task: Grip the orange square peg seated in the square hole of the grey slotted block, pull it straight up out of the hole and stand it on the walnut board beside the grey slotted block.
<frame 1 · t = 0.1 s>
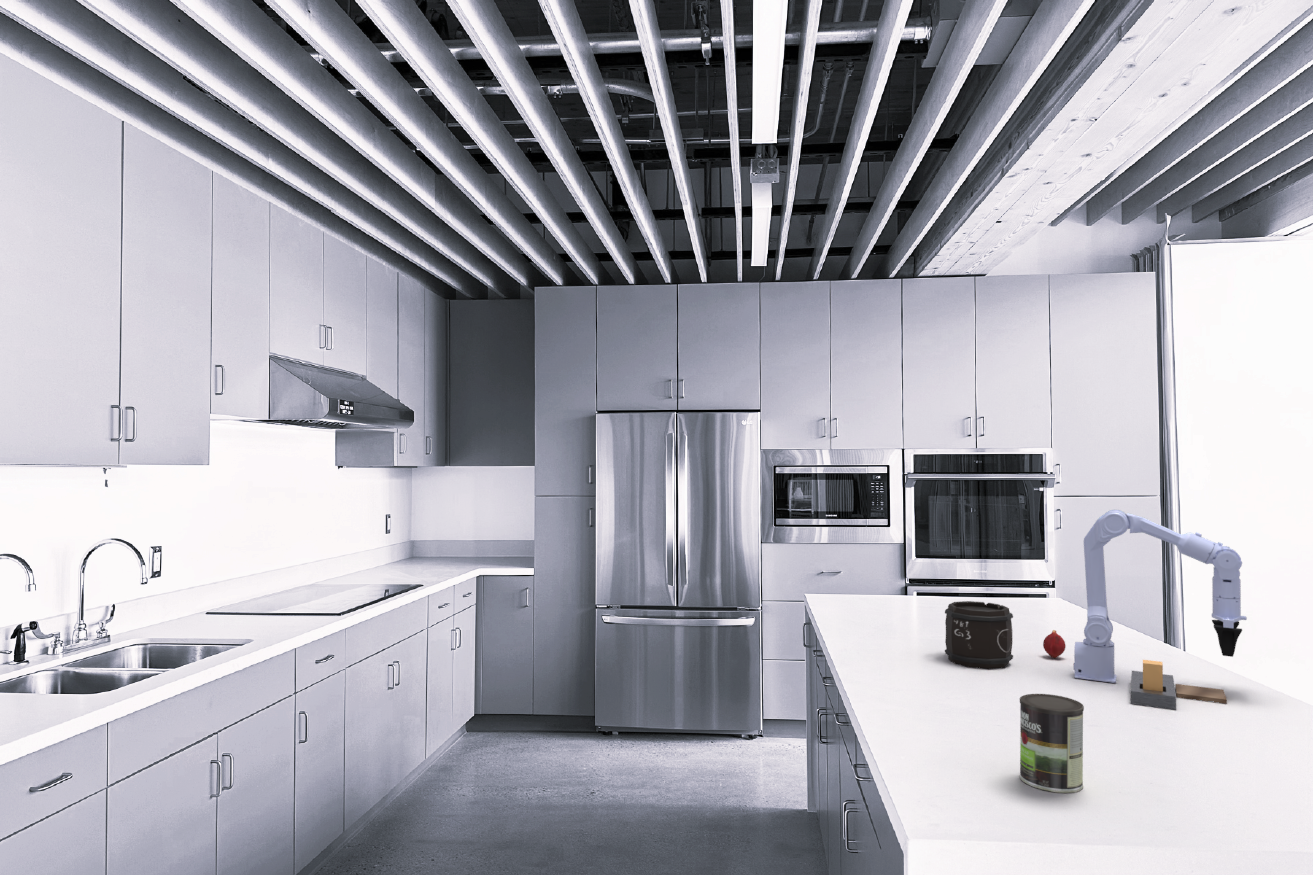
hand: (1226, 652, 204), 10 cm above the counter, tool pointing down, fingers open, 7 cm apart
grey slotted block: (1152, 695, 203), on the counter
peg: (1152, 700, 199), resting in grey slotted block
onion: (1054, 658, 240), on the counter
coffee can: (1051, 782, 148), on the counter
board: (1200, 695, 203), on the counter
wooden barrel: (978, 662, 235), on the counter
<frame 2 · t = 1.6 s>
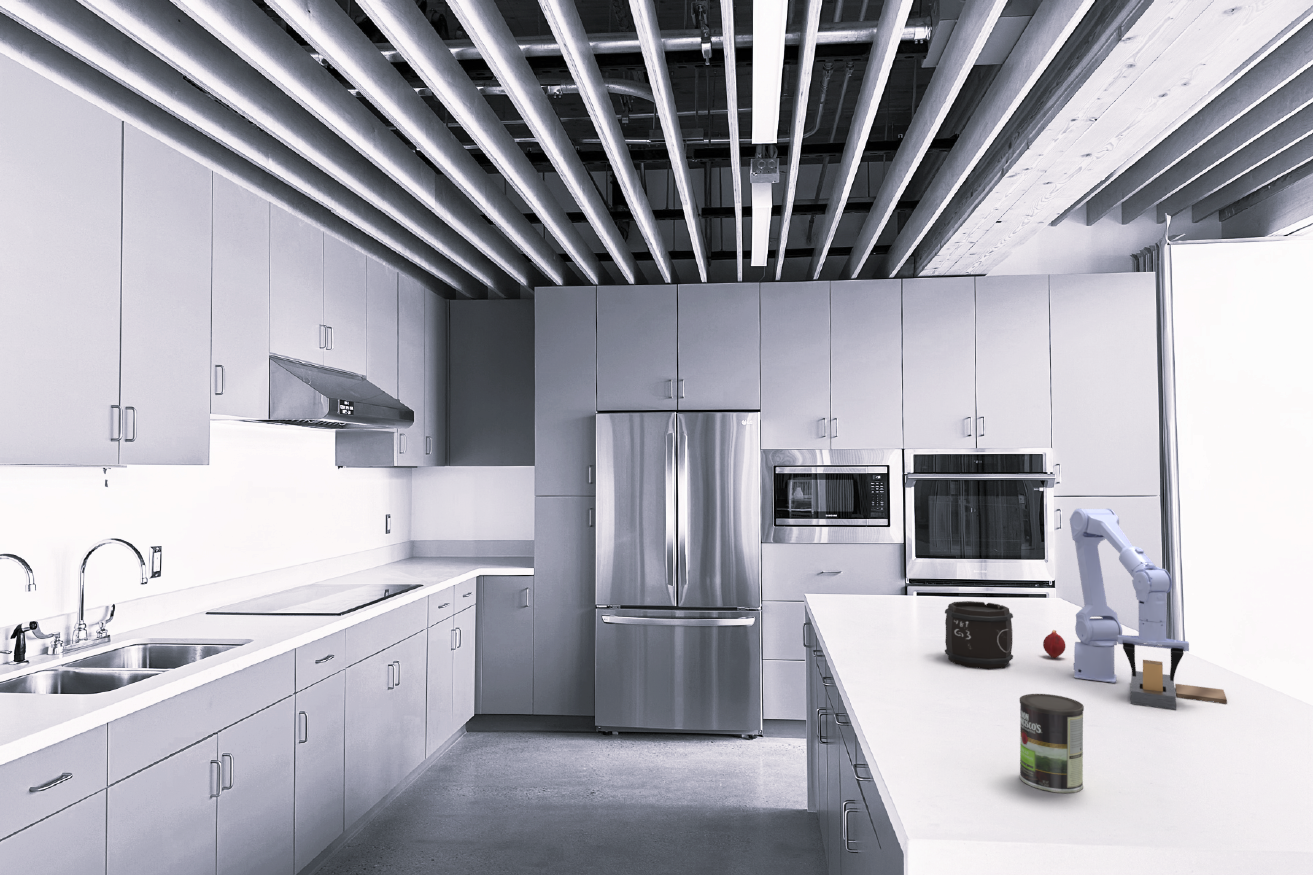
hand: (1152, 677, 199), 5 cm above the counter, tool pointing down, fingers open, 7 cm apart
nothing on the counter moved.
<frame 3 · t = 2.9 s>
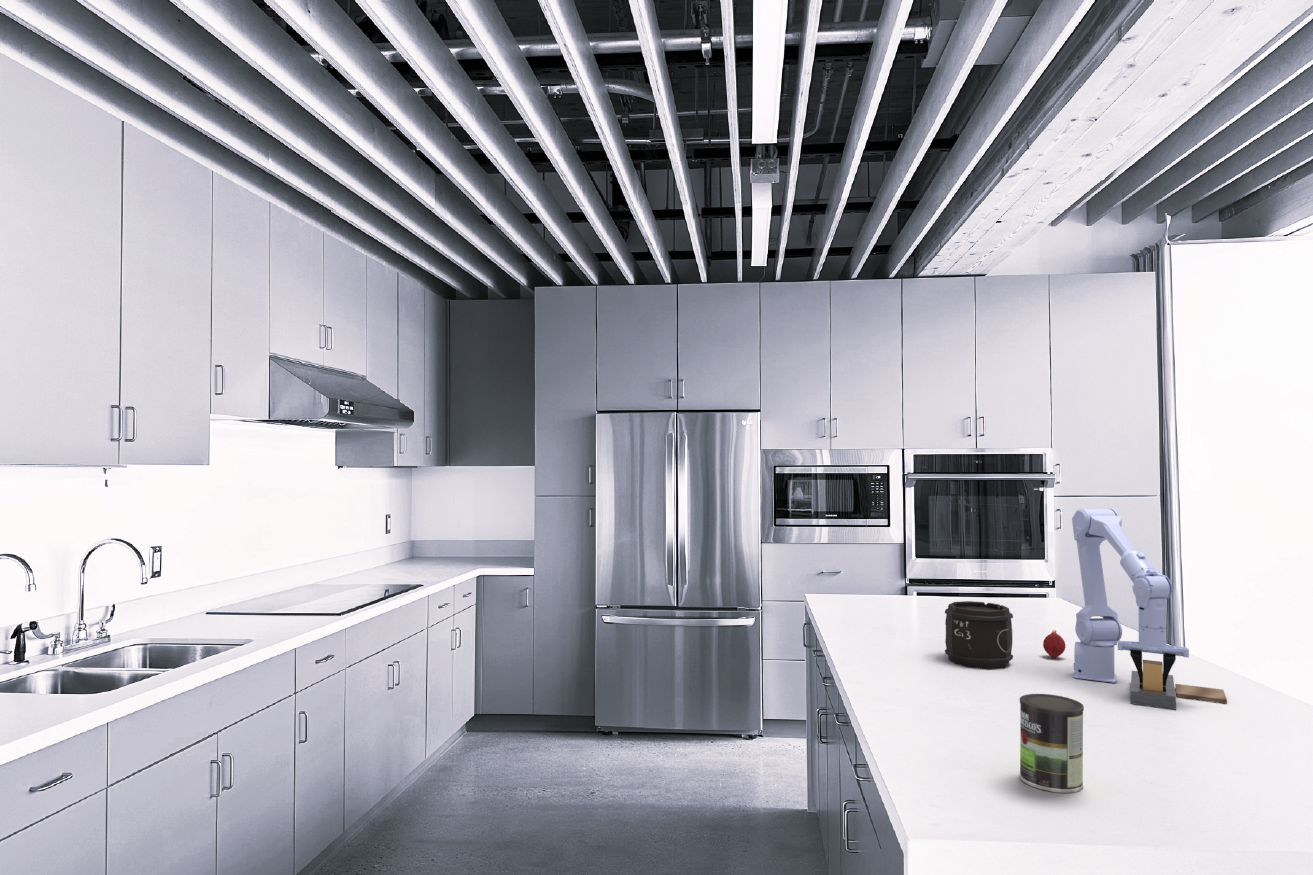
hand: (1152, 683, 199), 4 cm above the counter, tool pointing down, fingers closed on peg, 4 cm apart
peg: (1152, 700, 199), resting in grey slotted block, touching gripper
everything else where it was.
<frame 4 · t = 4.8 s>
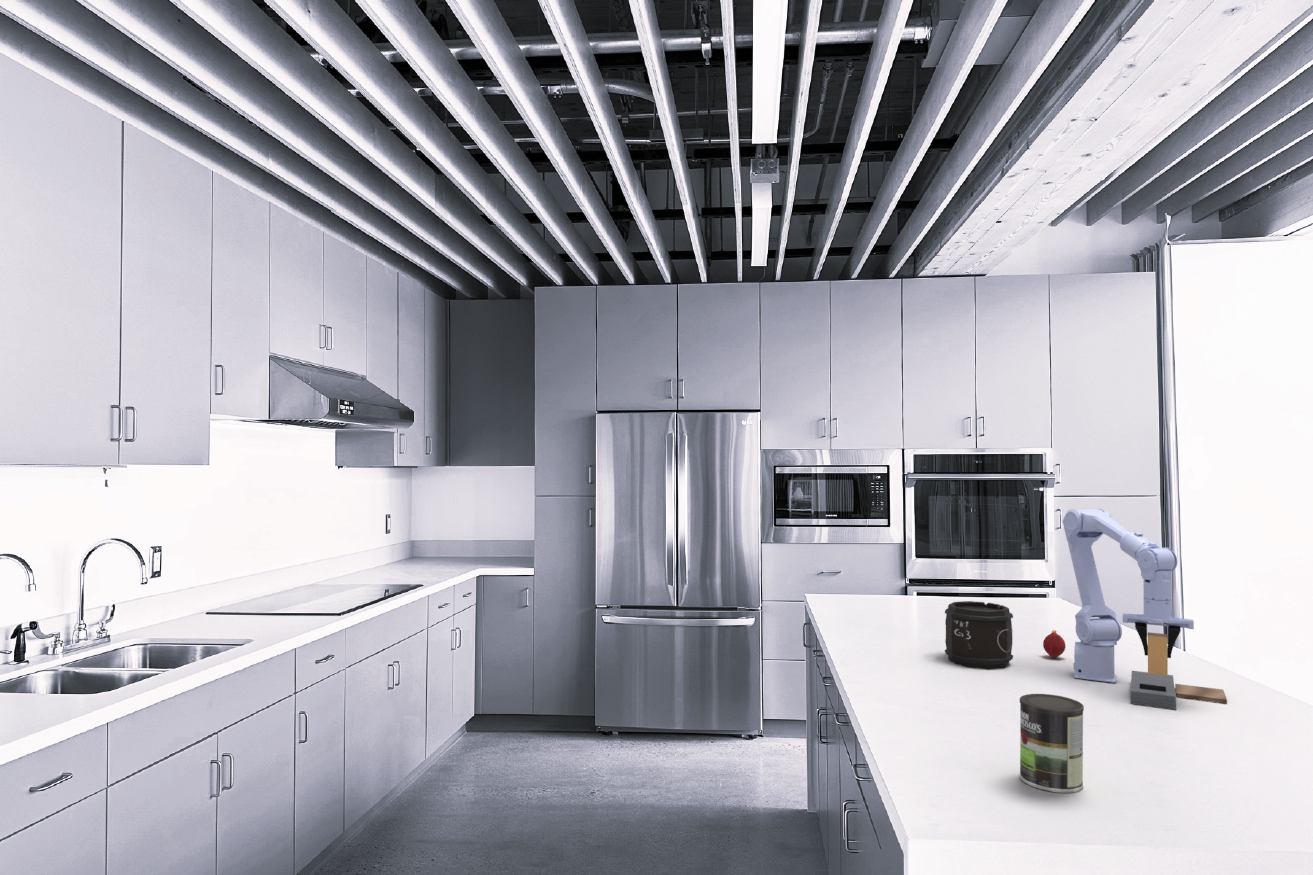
hand: (1157, 655, 199), 10 cm above the counter, tool pointing down, fingers closed on peg, 4 cm apart
peg: (1157, 672, 199), point 6 cm above the counter, touching gripper
everything else where it was.
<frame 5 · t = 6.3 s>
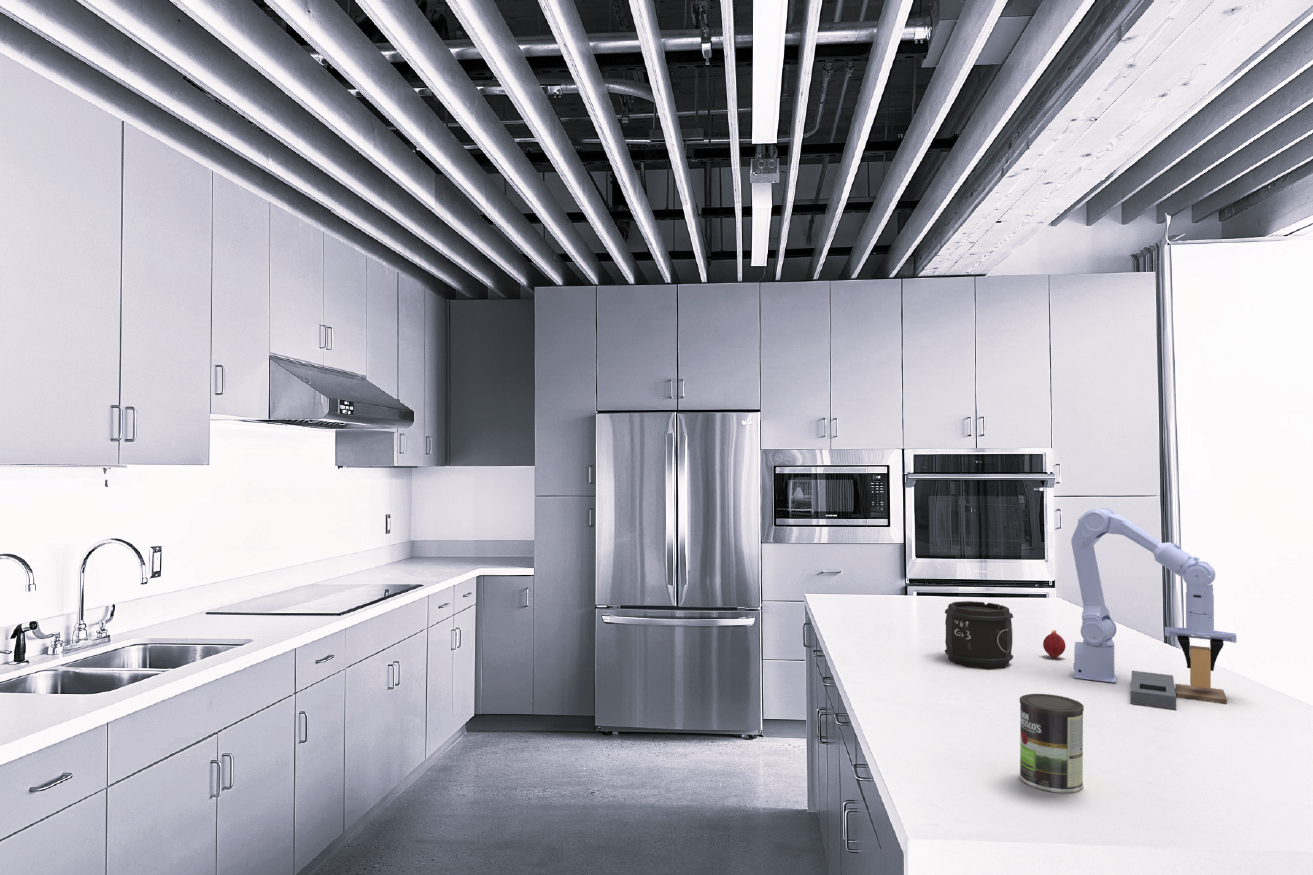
hand: (1200, 668, 203), 6 cm above the counter, tool pointing down, fingers closed on peg, 4 cm apart
peg: (1200, 685, 203), point 2 cm above the counter, touching gripper
everything else where it was.
when the fingers open (6 cm above the counter, at t = 7.2 s): peg stays where it is, resting on board.
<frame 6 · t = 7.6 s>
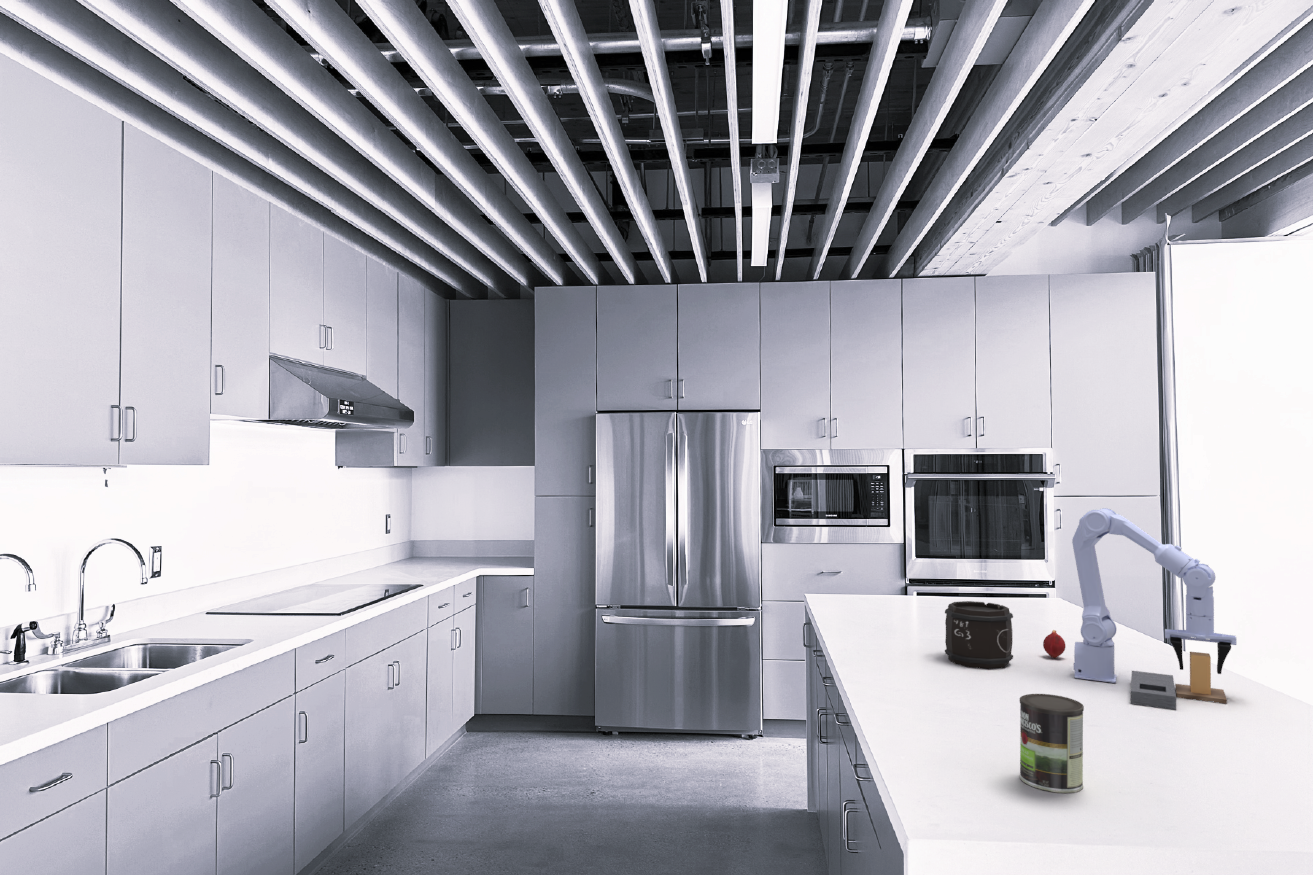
hand: (1200, 670, 203), 6 cm above the counter, tool pointing down, fingers open, 7 cm apart
peg: (1200, 691, 203), point 1 cm above the counter, touching board
everything else where it was.
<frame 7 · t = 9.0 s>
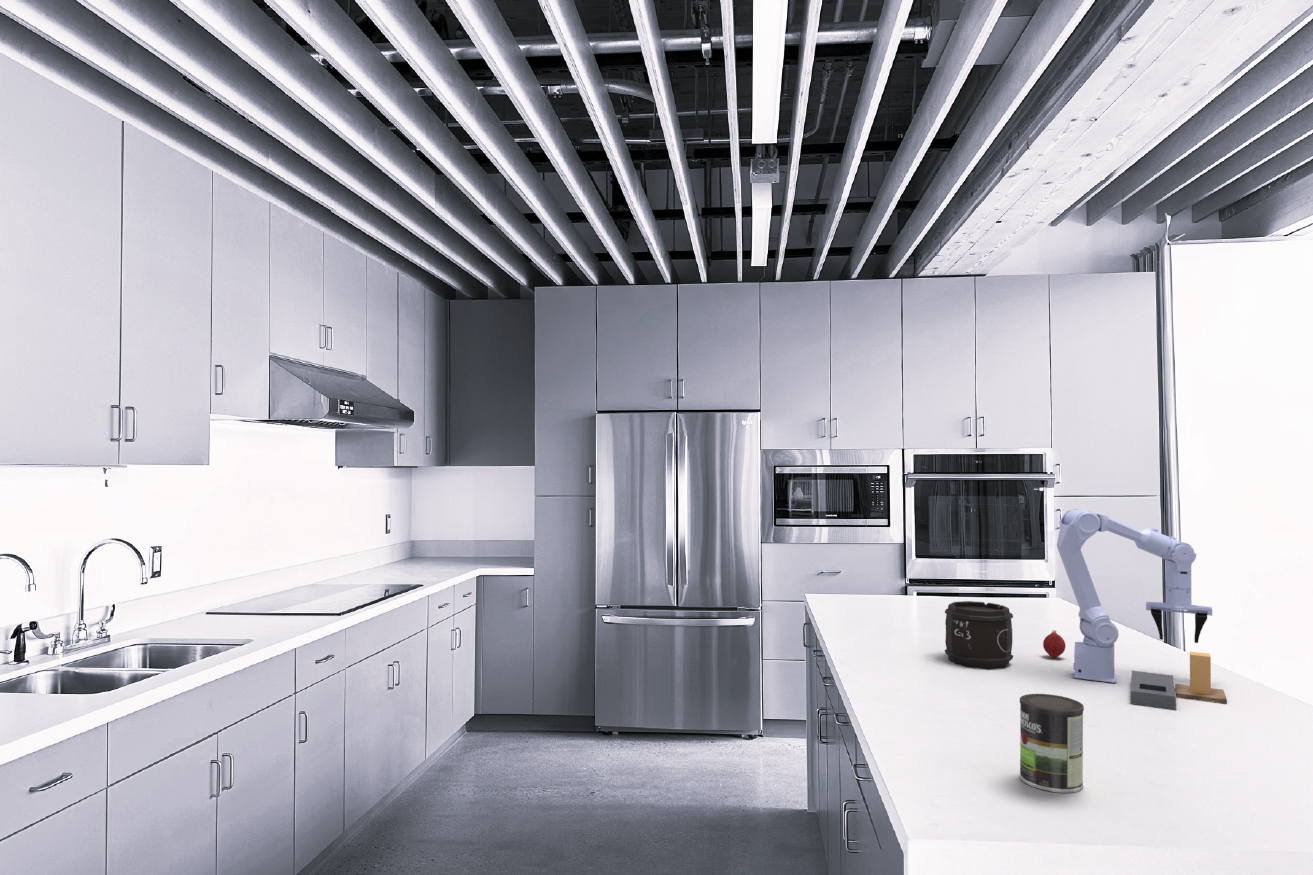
hand: (1178, 640, 216), 10 cm above the counter, tool pointing down, fingers open, 7 cm apart
nothing on the counter moved.
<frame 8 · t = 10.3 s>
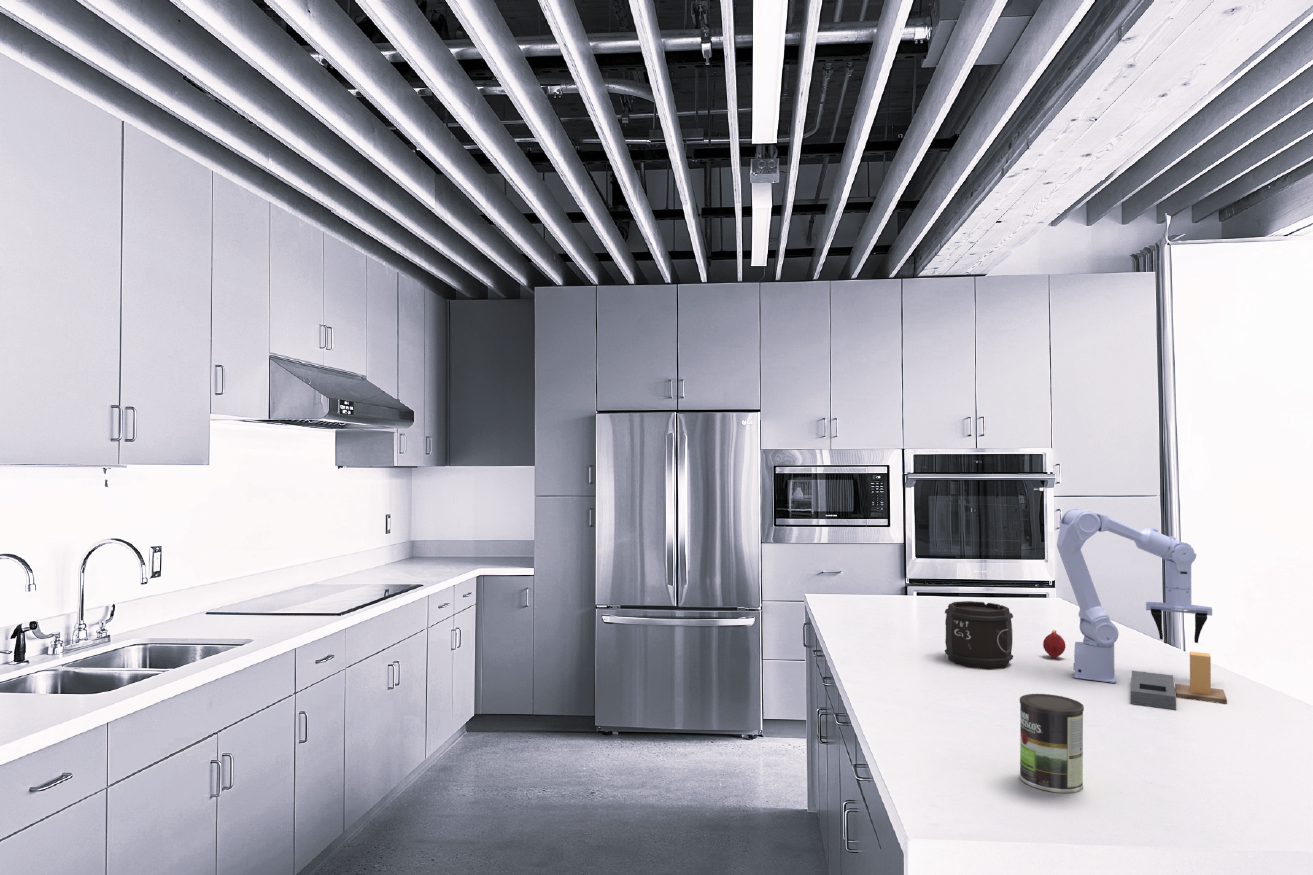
hand: (1178, 640, 216), 10 cm above the counter, tool pointing down, fingers open, 7 cm apart
nothing on the counter moved.
at the end: peg inside the target area on the board (0.1 cm from its centre), point 1.0 cm above the board's base; peg tilted 0°; the gripper is holding nothing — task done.
